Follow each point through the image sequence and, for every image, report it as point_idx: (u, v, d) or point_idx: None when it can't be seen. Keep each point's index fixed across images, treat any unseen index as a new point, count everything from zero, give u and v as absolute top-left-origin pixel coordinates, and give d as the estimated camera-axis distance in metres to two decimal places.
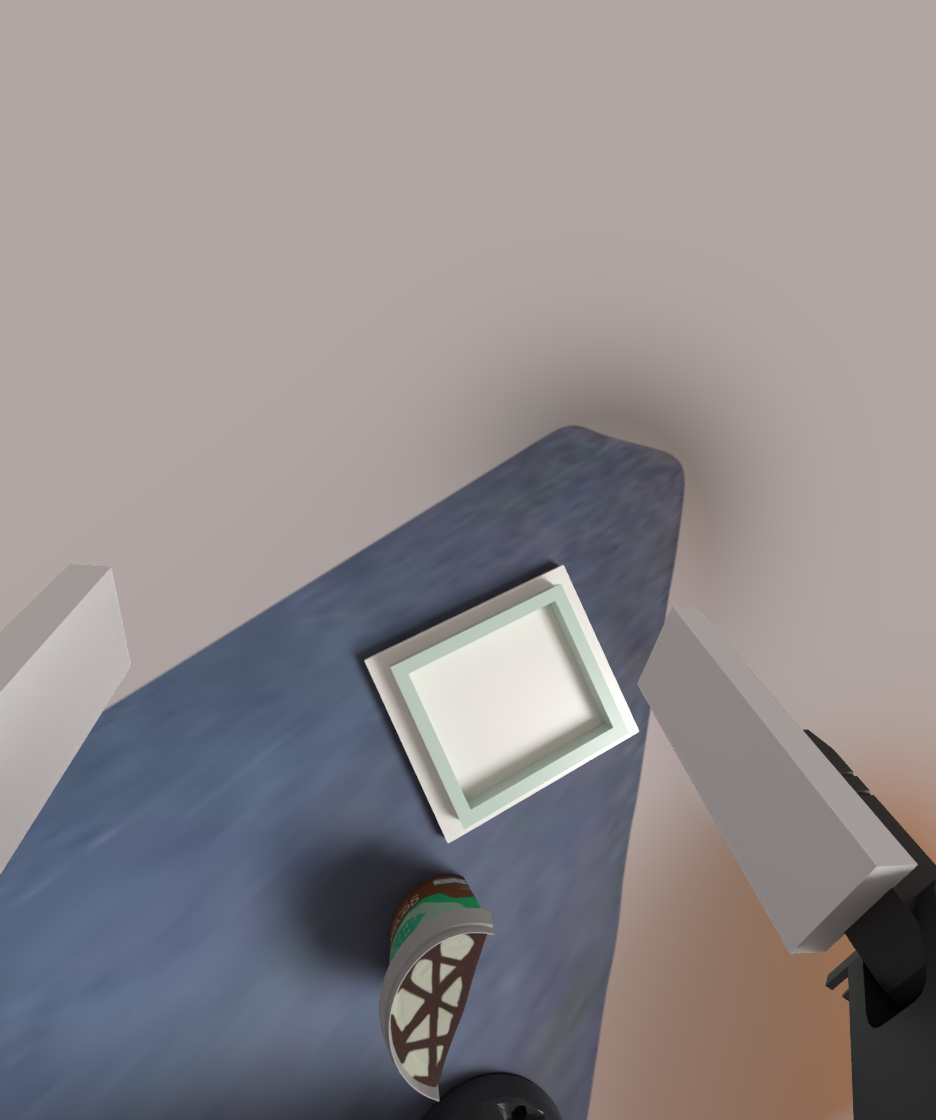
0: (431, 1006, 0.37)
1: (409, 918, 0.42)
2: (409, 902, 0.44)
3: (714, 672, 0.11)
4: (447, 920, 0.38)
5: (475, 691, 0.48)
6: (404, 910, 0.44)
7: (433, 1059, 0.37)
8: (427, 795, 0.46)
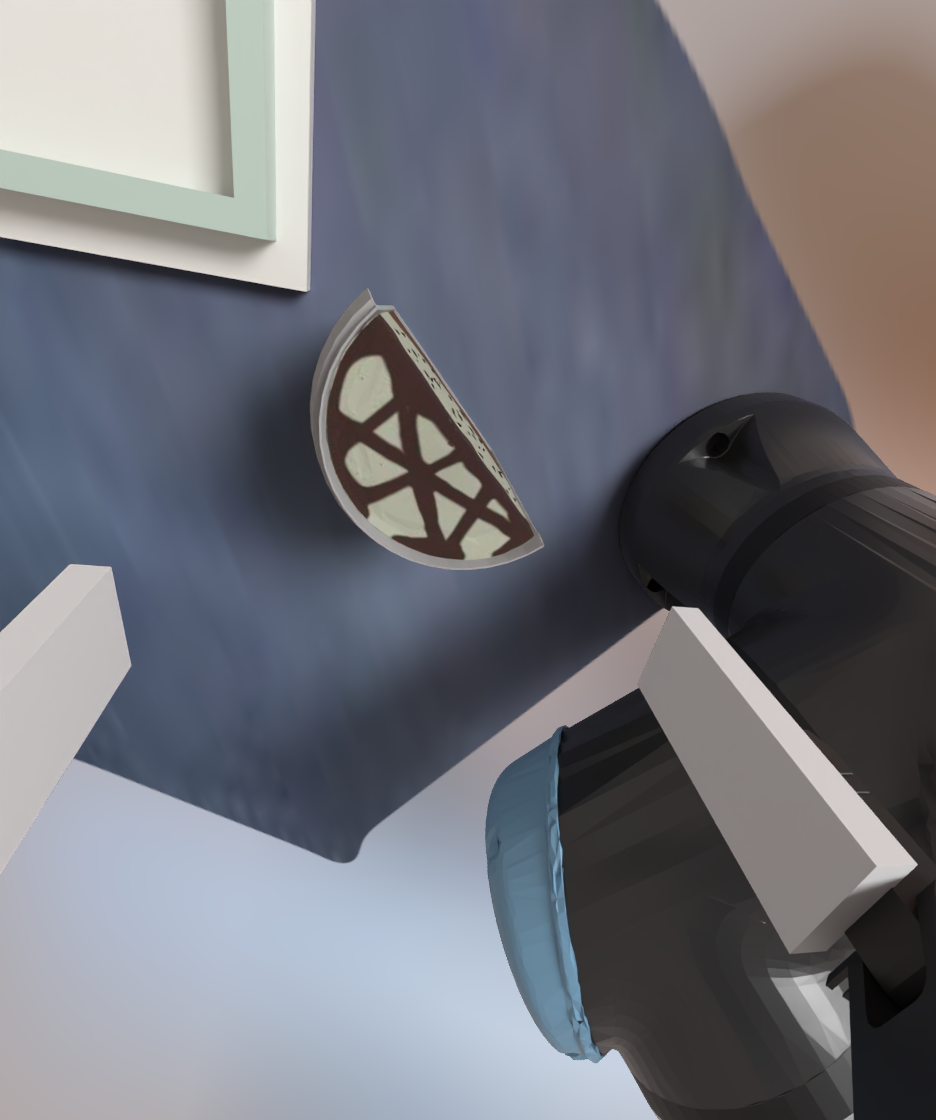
0: (426, 483, 0.21)
1: None
2: None
3: (714, 672, 0.11)
4: (317, 376, 0.19)
5: None
6: None
7: (498, 520, 0.22)
8: (196, 268, 0.23)
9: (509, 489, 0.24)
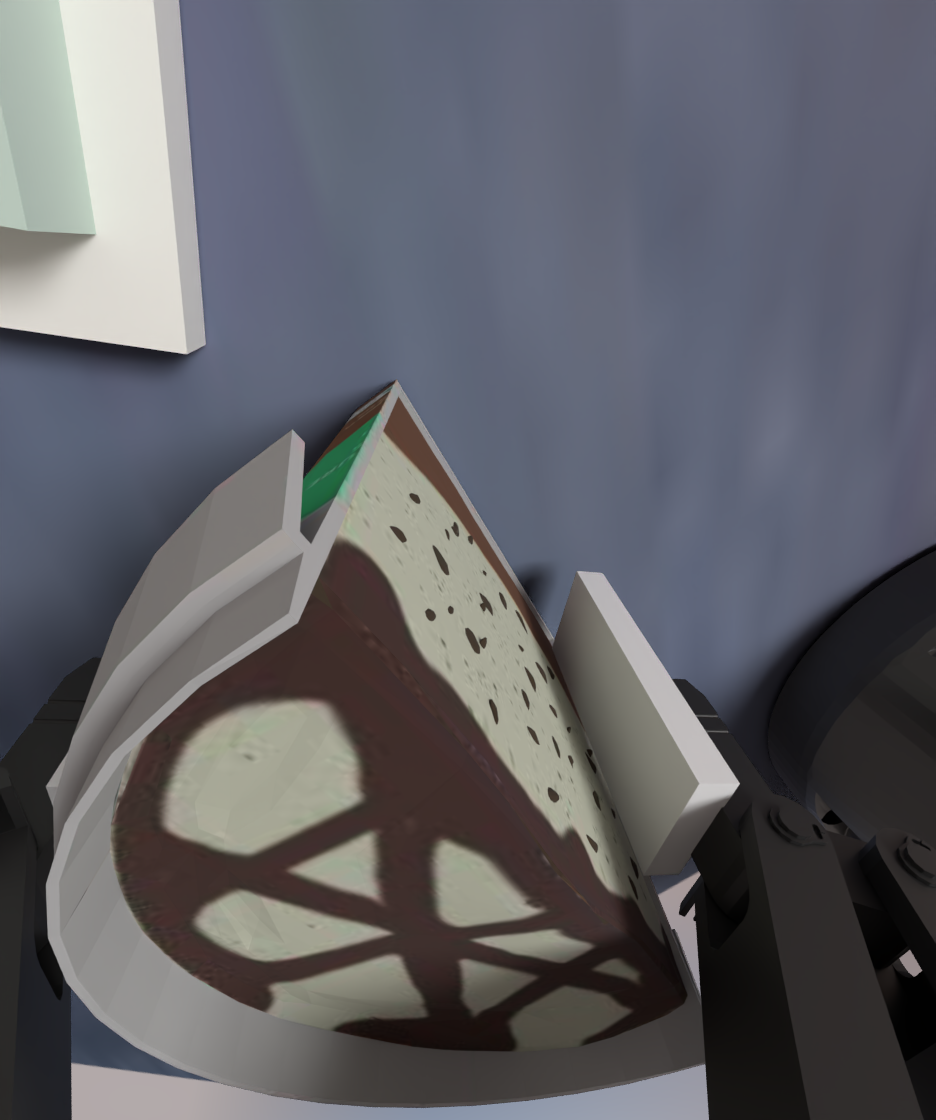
0: (443, 948, 0.07)
1: None
2: None
3: (602, 627, 0.12)
4: None
5: None
6: None
7: (613, 984, 0.09)
8: None
9: (615, 816, 0.11)
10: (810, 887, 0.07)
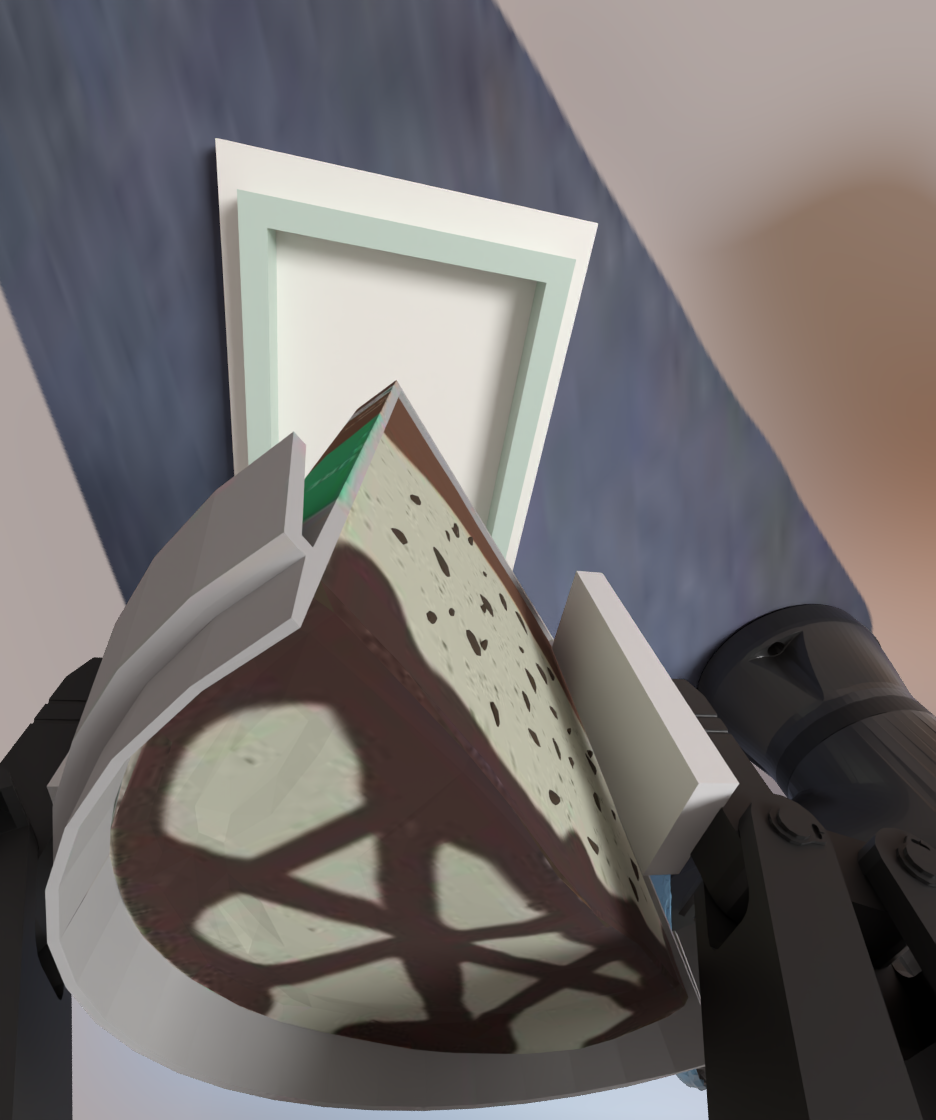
0: (444, 951, 0.07)
1: None
2: None
3: (602, 627, 0.12)
4: None
5: None
6: None
7: (614, 986, 0.09)
8: None
9: (615, 817, 0.11)
10: (810, 887, 0.07)
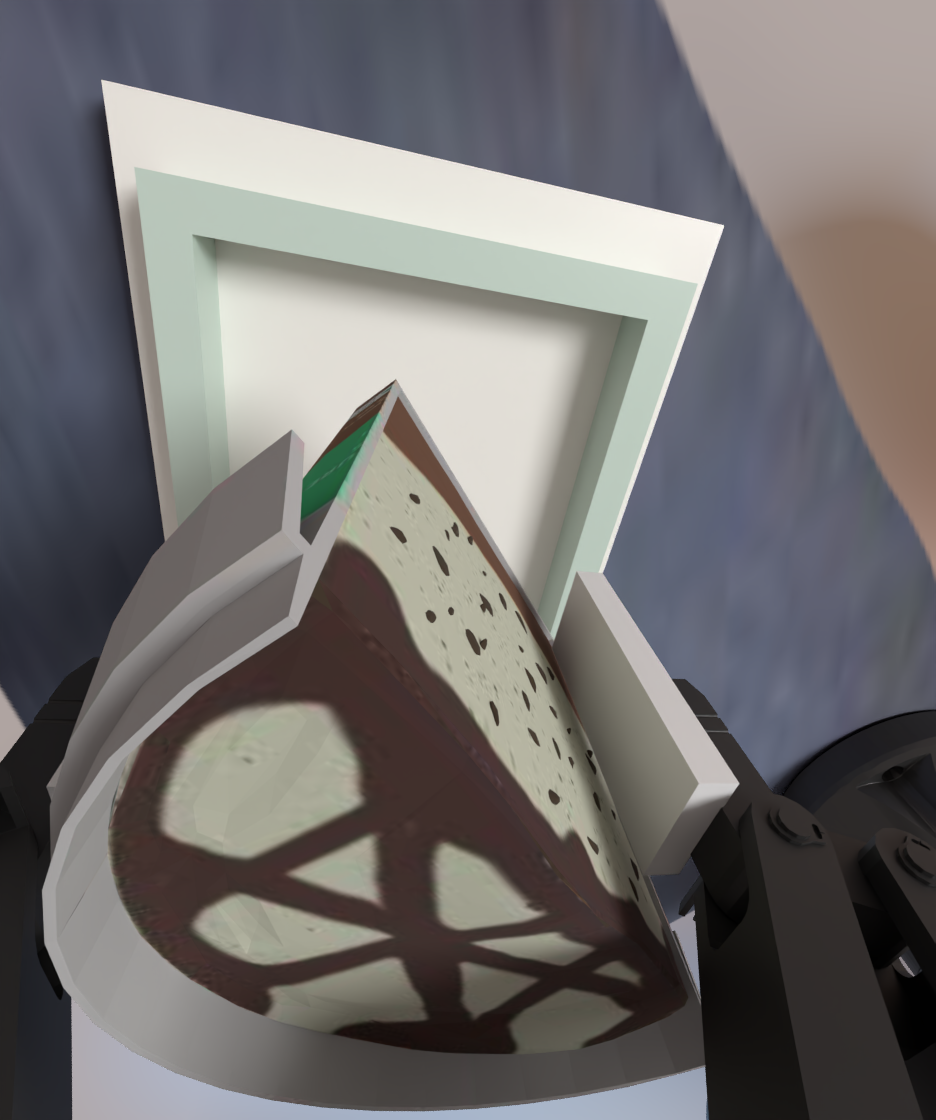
0: (443, 952, 0.07)
1: None
2: None
3: (602, 627, 0.12)
4: None
5: None
6: None
7: (614, 987, 0.09)
8: None
9: (615, 817, 0.11)
10: (811, 887, 0.07)
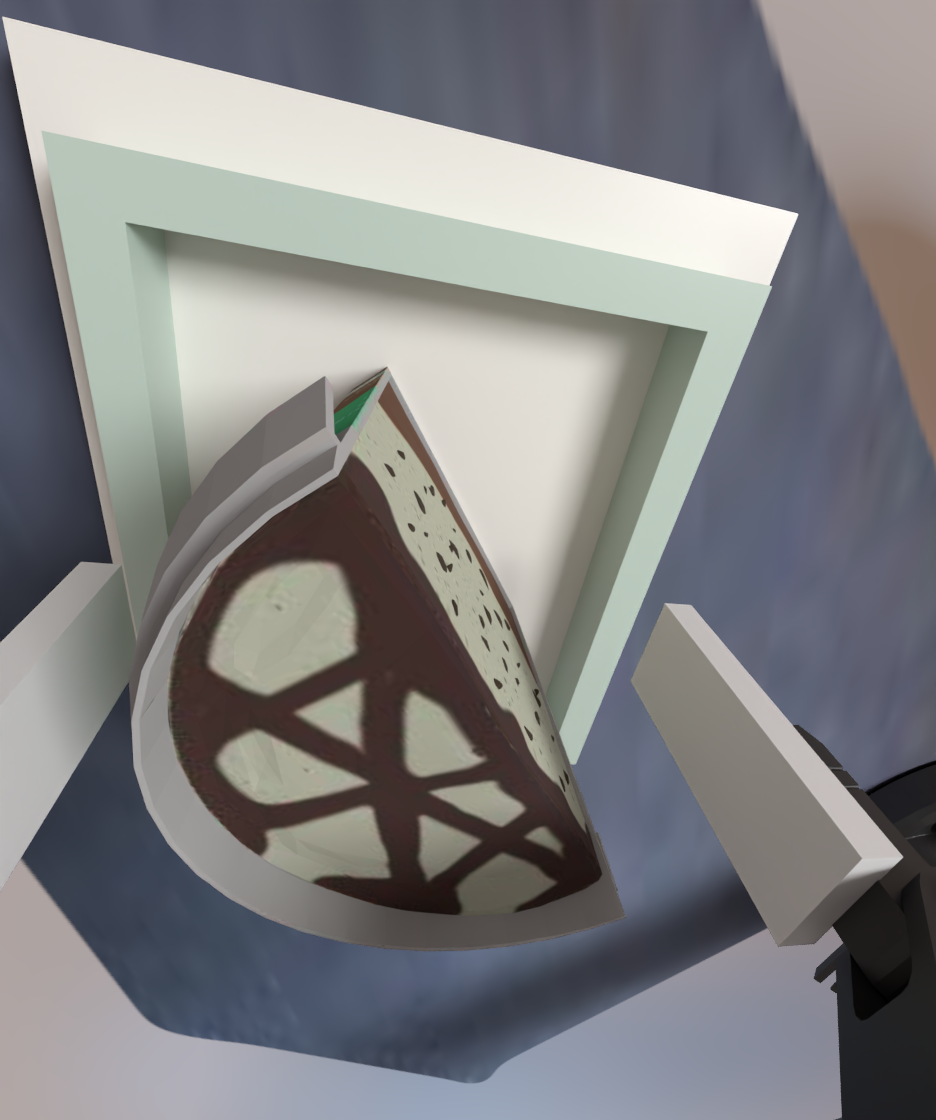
0: (406, 803, 0.09)
1: None
2: None
3: (706, 668, 0.11)
4: (156, 579, 0.07)
5: None
6: None
7: (542, 855, 0.11)
8: None
9: (554, 740, 0.13)
10: None
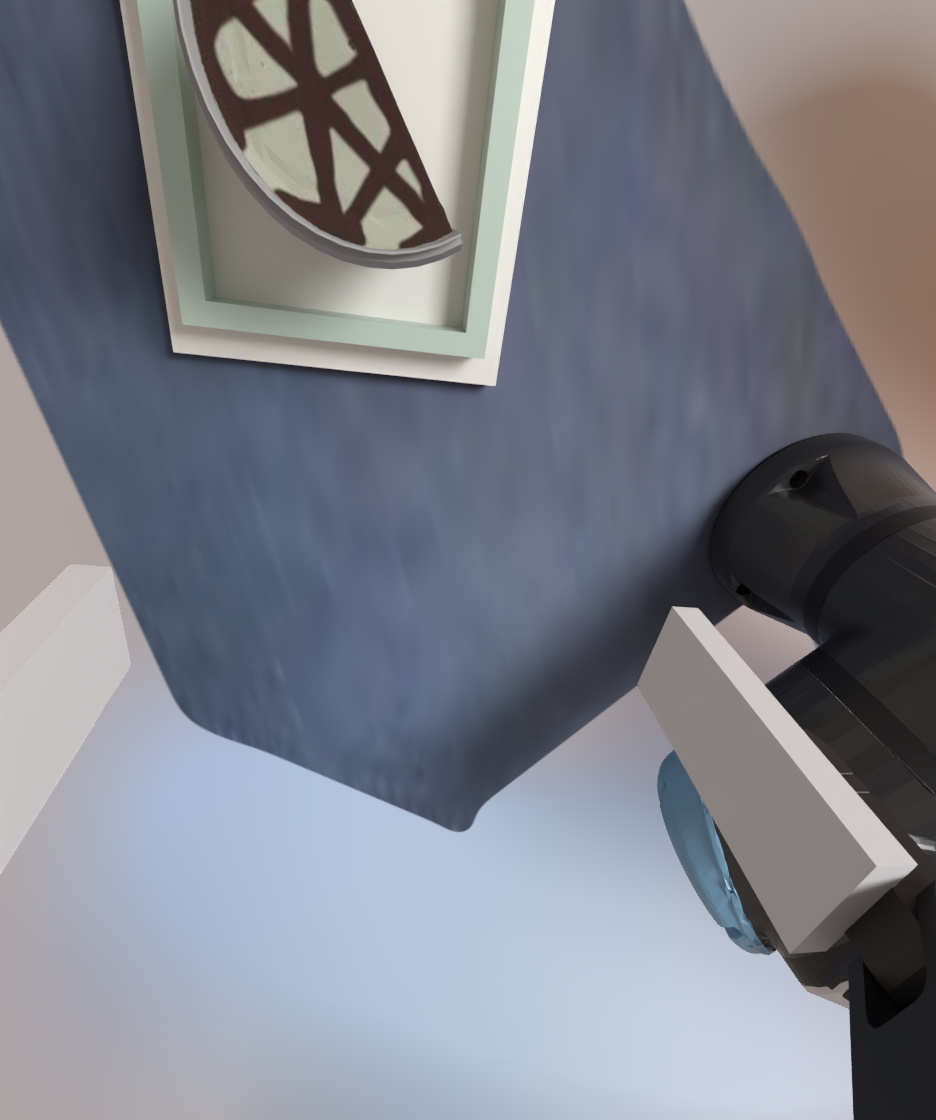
0: (321, 111, 0.17)
1: None
2: None
3: (714, 672, 0.11)
4: None
5: None
6: None
7: (409, 196, 0.18)
8: (418, 375, 0.30)
9: None
10: None
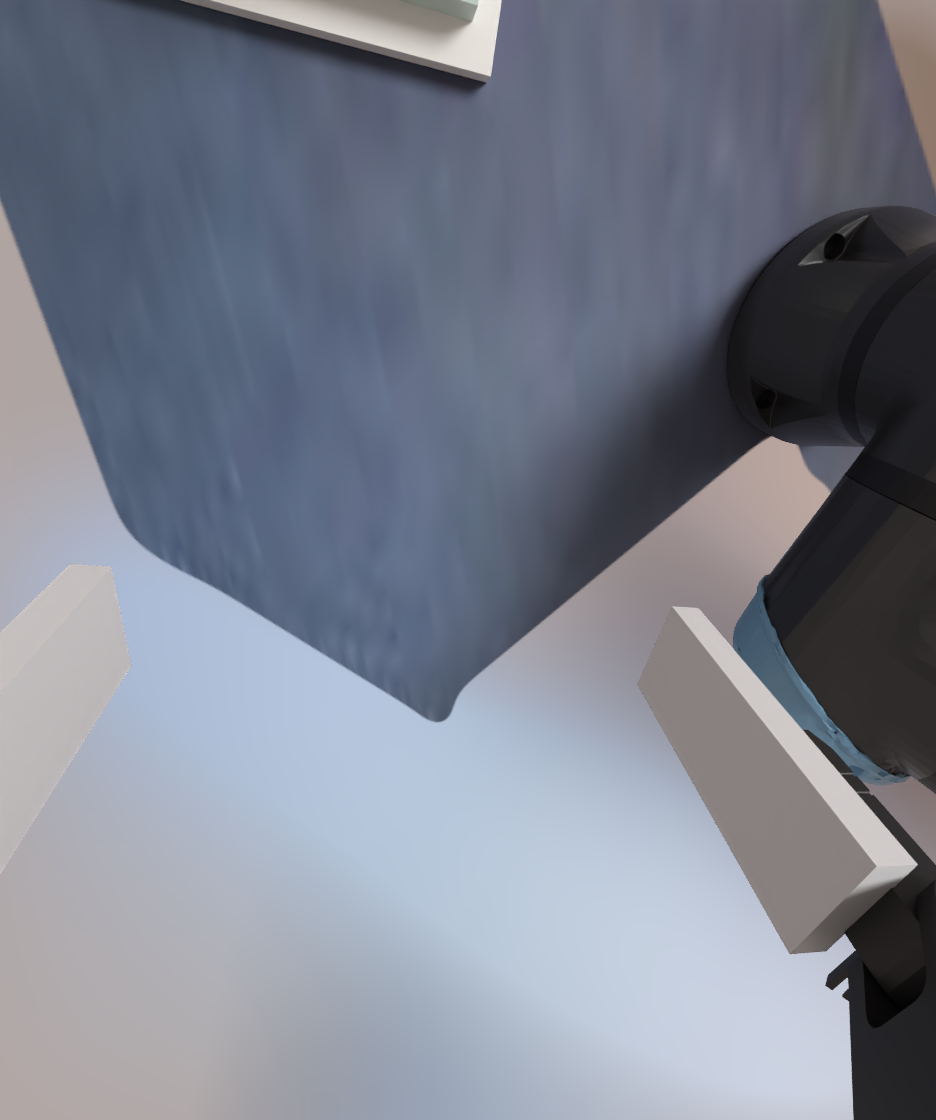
0: None
1: None
2: None
3: (714, 672, 0.11)
4: None
5: None
6: None
7: None
8: (400, 48, 0.26)
9: None
10: None
